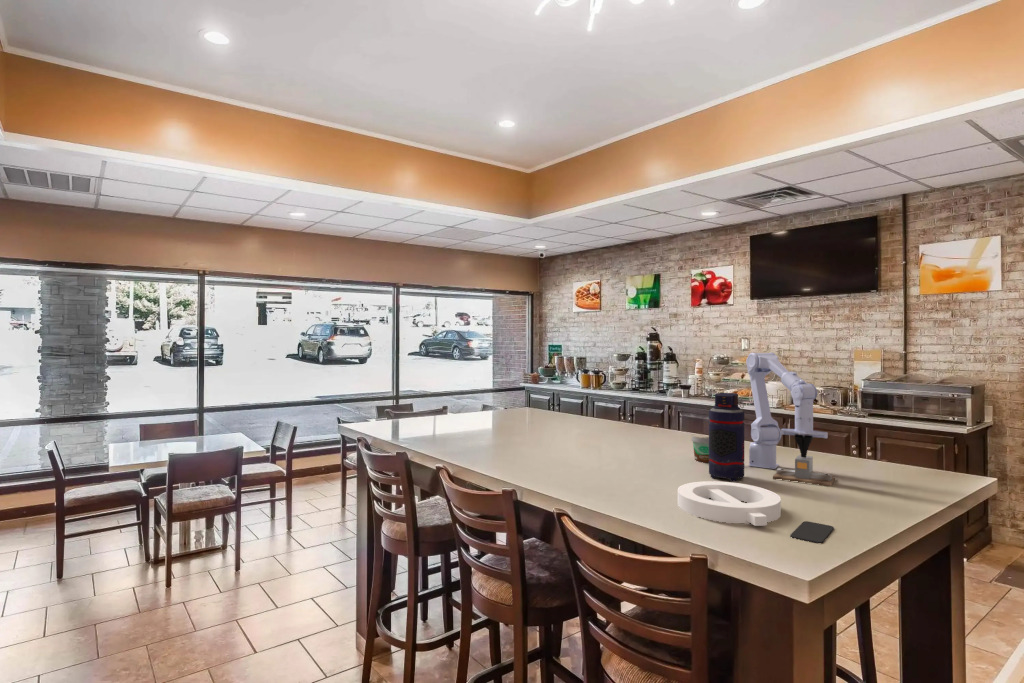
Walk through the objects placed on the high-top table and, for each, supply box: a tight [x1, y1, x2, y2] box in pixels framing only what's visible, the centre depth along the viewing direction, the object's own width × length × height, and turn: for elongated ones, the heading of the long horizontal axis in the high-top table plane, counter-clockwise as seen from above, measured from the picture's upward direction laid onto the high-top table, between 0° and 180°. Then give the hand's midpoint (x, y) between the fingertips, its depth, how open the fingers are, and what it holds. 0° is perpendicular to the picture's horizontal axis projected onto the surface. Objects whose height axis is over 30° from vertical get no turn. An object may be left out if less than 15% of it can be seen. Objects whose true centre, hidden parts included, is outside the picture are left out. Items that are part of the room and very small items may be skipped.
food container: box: [690, 435, 710, 464], centre depth 227 cm, size 12×6×10 cm, turn 73°
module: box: [794, 454, 814, 479], centre depth 200 cm, size 4×8×6 cm, turn 145°
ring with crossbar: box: [677, 480, 782, 527], centre depth 165 cm, size 28×28×5 cm
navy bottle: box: [708, 392, 745, 482], centre depth 203 cm, size 14×12×30 cm
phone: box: [789, 520, 835, 544], centre depth 145 cm, size 7×1×15 cm
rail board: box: [772, 467, 836, 487], centre depth 200 cm, size 18×12×3 cm, turn 55°
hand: (803, 456), depth 200 cm, fingers closed
